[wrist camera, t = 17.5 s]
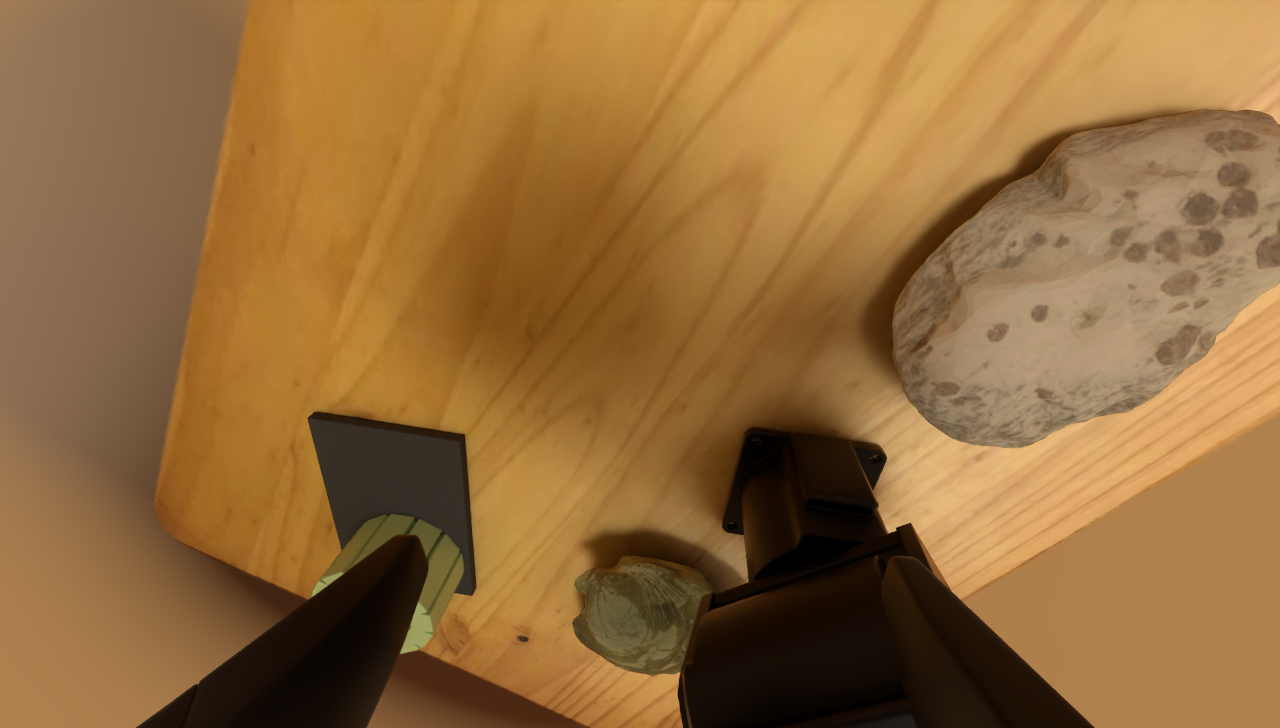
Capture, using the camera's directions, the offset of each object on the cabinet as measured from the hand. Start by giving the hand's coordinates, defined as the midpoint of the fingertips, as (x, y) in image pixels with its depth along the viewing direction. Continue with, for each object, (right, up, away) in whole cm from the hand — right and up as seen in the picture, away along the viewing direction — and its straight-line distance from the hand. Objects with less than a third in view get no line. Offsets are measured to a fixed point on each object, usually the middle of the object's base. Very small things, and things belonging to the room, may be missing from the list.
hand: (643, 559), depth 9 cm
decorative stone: (+15, +7, +9) cm, 19 cm away
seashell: (+1, -10, +20) cm, 23 cm away
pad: (-14, -5, +19) cm, 24 cm away
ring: (-14, -7, +20) cm, 25 cm away
